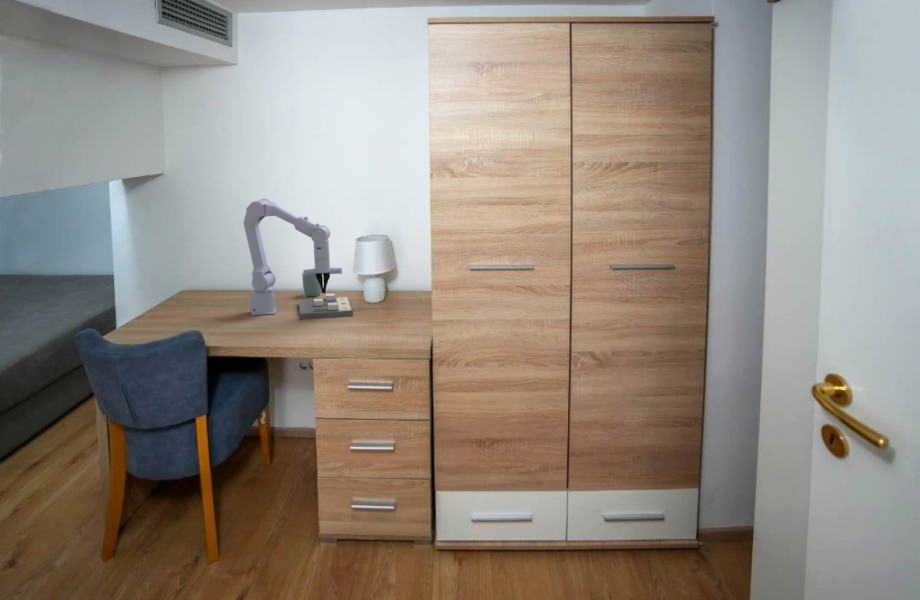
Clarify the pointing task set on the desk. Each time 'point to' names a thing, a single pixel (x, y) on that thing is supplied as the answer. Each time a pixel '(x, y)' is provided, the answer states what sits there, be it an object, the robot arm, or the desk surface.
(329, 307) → the white cube
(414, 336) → the desk surface
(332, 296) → the switch tab
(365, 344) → the desk surface
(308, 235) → the robot arm
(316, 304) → the switch tab
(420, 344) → the desk surface
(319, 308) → the switch board
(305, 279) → the cup
